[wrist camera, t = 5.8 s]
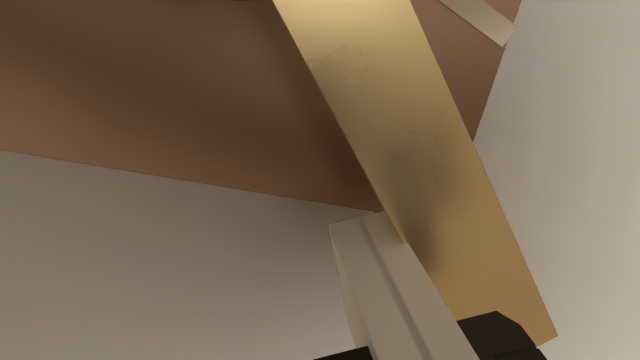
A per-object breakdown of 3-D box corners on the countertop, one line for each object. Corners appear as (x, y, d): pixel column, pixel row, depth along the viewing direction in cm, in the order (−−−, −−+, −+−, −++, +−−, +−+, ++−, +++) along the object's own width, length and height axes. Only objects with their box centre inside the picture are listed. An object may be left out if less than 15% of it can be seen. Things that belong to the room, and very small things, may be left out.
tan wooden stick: (10, -255, 12) (-97, -345, 8) (289, -428, 11) (324, -613, 7) (358, 310, 18) (396, 418, 14) (547, 210, 17) (640, 292, 13)
